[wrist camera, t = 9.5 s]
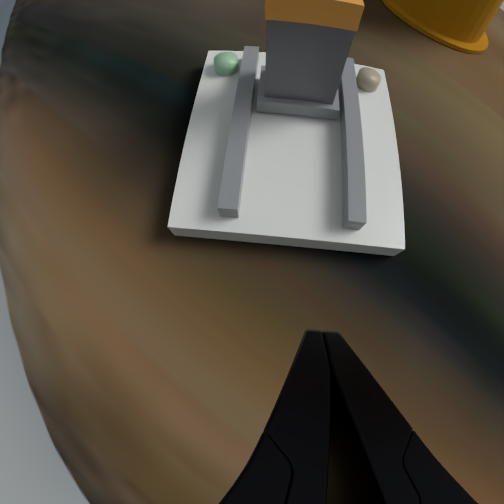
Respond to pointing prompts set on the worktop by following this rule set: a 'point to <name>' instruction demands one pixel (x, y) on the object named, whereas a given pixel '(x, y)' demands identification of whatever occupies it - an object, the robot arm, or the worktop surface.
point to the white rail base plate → (289, 165)
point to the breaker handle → (306, 55)
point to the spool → (449, 20)
